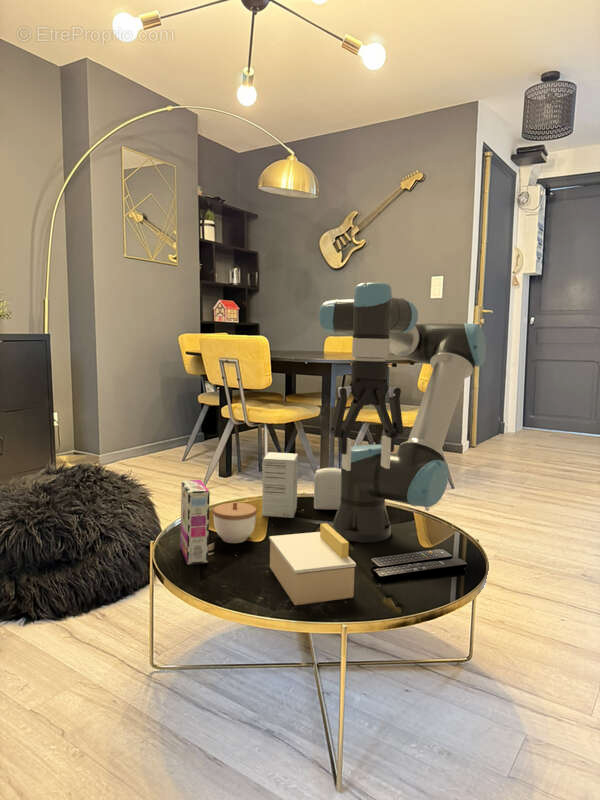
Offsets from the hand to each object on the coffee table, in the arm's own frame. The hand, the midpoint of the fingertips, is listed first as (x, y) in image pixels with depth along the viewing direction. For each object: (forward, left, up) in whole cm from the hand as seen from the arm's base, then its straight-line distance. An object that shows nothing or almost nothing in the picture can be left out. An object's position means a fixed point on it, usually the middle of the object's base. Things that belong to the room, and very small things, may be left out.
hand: (365, 468), depth 112 cm
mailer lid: (+12, 0, -17) cm, 21 cm away
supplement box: (+5, -46, -24) cm, 52 cm away
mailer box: (+12, 0, -23) cm, 26 cm away
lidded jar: (+22, -28, -24) cm, 43 cm away
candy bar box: (+33, -20, -24) cm, 45 cm away
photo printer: (-11, -46, -24) cm, 53 cm away
